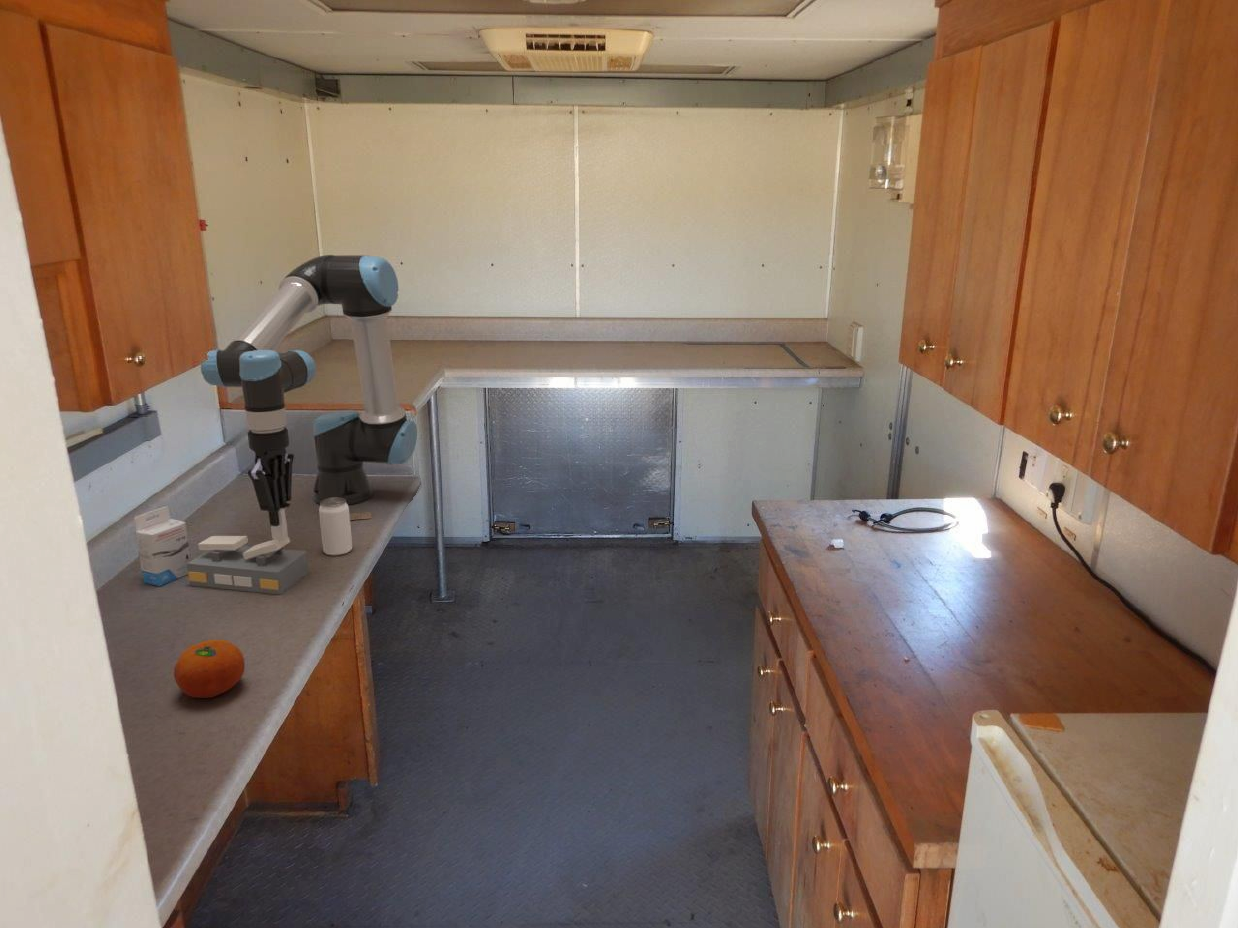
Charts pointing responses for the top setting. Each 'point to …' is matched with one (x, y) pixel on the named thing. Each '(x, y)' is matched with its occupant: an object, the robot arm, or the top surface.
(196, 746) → the top surface
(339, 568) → the top surface
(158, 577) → the ink box
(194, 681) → the fruit
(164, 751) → the top surface
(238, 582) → the switch unit
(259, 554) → the rocker
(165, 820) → the top surface
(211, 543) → the rocker
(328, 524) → the can
